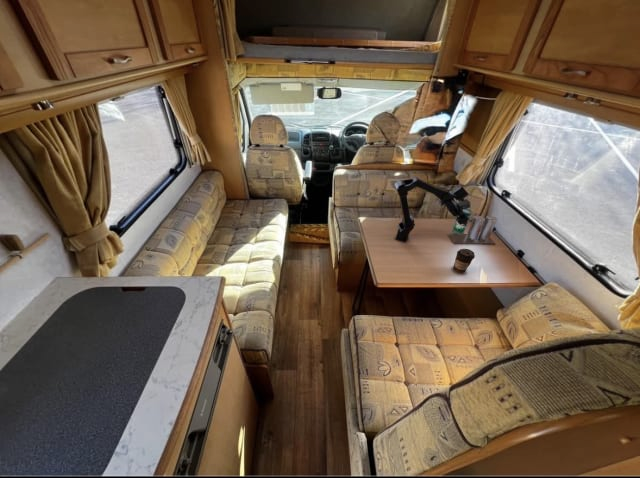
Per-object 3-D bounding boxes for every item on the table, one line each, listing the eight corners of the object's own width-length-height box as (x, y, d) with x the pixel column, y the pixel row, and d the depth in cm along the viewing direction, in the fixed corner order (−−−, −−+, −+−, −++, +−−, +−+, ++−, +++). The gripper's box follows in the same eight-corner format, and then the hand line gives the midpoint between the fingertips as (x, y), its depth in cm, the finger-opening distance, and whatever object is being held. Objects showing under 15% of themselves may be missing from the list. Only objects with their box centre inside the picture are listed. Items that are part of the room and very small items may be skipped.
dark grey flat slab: (454, 244, 162) (455, 242, 162) (448, 235, 171) (448, 233, 170) (494, 244, 162) (495, 243, 162) (486, 235, 170) (487, 234, 170)
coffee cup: (465, 278, 137) (474, 259, 130) (449, 272, 141) (456, 253, 133) (468, 269, 143) (476, 250, 136) (452, 263, 147) (459, 245, 139)
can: (451, 231, 163) (459, 210, 155) (455, 228, 167) (463, 207, 158) (460, 235, 159) (469, 214, 151) (464, 232, 163) (473, 211, 155)
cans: (468, 240, 163) (476, 220, 155) (463, 235, 168) (472, 215, 160) (489, 241, 163) (499, 220, 155) (484, 235, 168) (494, 215, 159)
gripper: (472, 204, 141) (484, 221, 148) (457, 189, 157) (469, 206, 163) (453, 216, 146) (466, 232, 152) (441, 201, 161) (453, 216, 168)
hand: (464, 221), depth 159 cm, fingers closed on can, 6 cm apart
